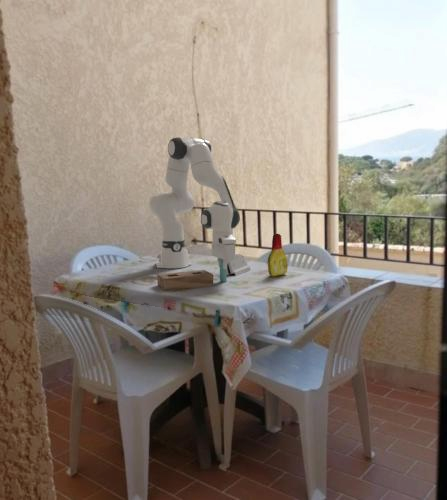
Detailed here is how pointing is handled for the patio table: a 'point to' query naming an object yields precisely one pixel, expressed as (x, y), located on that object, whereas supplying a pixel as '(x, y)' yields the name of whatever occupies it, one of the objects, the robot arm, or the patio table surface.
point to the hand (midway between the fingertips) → (222, 268)
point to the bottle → (277, 258)
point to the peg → (222, 272)
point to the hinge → (237, 265)
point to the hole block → (185, 280)
